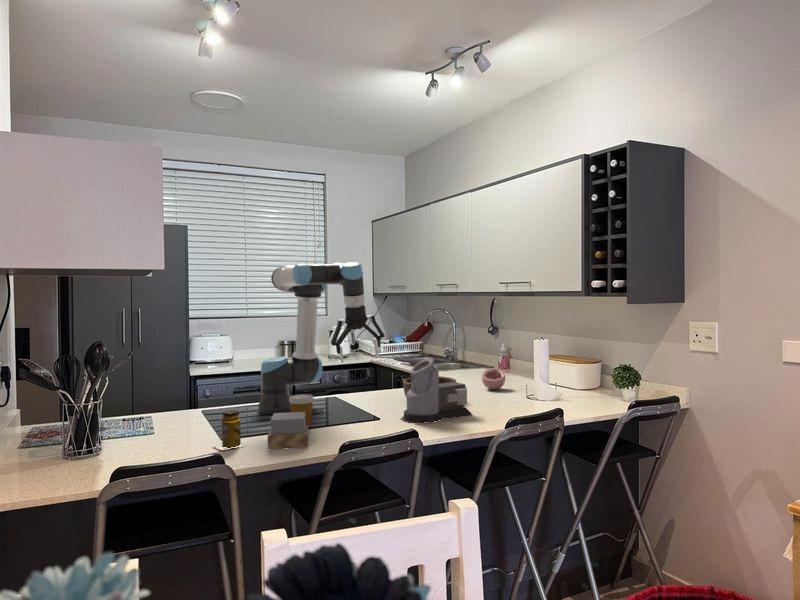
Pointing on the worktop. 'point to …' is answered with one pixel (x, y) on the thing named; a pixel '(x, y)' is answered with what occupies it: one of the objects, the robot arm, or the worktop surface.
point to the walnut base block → (288, 440)
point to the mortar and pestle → (493, 379)
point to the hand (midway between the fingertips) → (359, 358)
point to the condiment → (231, 429)
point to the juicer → (433, 396)
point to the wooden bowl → (441, 380)
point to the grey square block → (288, 423)
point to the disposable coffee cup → (302, 406)
